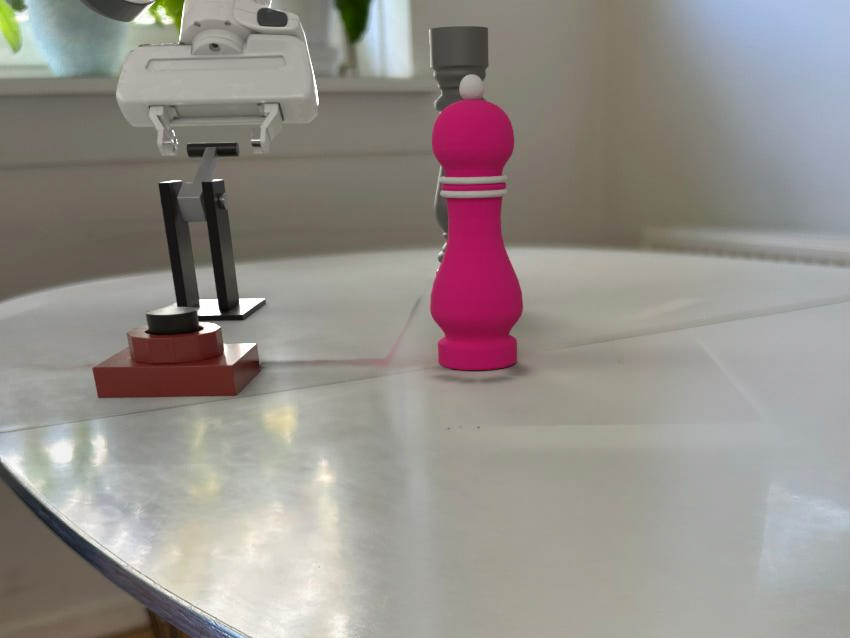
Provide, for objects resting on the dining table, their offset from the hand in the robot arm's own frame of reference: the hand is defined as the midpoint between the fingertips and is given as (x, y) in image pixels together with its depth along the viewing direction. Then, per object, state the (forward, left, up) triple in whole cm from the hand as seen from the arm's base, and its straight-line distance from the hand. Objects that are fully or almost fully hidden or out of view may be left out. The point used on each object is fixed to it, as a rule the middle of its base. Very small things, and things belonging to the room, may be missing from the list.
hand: (213, 149), depth 100 cm
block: (+5, -36, -15) cm, 40 cm away
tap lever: (0, -5, -3) cm, 6 cm away
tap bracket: (0, -9, -15) cm, 18 cm away
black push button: (+5, -36, -12) cm, 38 cm away
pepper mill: (+27, -30, -15) cm, 43 cm away
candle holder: (+25, 0, -15) cm, 29 cm away
